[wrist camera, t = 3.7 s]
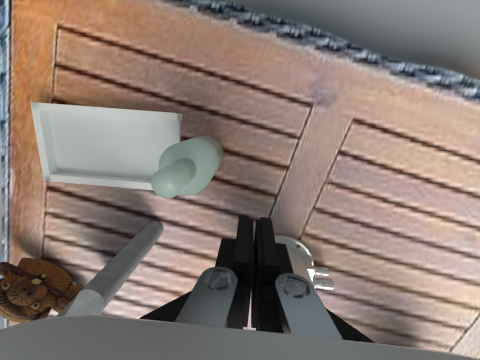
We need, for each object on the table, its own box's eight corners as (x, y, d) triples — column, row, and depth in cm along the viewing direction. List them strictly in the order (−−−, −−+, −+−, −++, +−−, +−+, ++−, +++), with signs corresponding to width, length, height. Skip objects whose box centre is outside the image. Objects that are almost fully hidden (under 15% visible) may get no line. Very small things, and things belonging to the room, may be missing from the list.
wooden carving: (100, 283, 46) (60, 326, 37) (92, 297, 47) (51, 343, 38) (26, 243, 44) (-36, 277, 35) (19, 259, 46) (-42, 297, 36)
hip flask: (153, 217, 41) (69, 302, 22) (170, 231, 42) (101, 326, 23) (105, 266, 45) (-5, 377, 26) (121, 279, 46) (25, 396, 26)
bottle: (225, 136, 37) (201, 152, 19) (222, 174, 38) (199, 218, 21) (186, 133, 37) (129, 146, 20) (186, 170, 39) (133, 212, 21)
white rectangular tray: (182, 113, 36) (177, 113, 34) (182, 187, 40) (177, 192, 37) (44, 103, 37) (30, 101, 34) (56, 177, 40) (43, 180, 38)
